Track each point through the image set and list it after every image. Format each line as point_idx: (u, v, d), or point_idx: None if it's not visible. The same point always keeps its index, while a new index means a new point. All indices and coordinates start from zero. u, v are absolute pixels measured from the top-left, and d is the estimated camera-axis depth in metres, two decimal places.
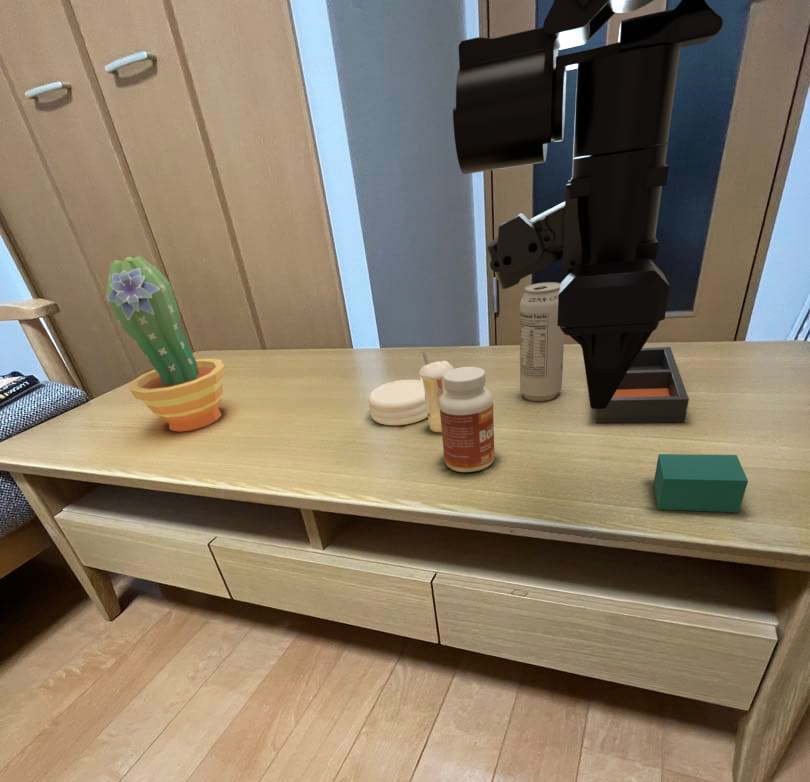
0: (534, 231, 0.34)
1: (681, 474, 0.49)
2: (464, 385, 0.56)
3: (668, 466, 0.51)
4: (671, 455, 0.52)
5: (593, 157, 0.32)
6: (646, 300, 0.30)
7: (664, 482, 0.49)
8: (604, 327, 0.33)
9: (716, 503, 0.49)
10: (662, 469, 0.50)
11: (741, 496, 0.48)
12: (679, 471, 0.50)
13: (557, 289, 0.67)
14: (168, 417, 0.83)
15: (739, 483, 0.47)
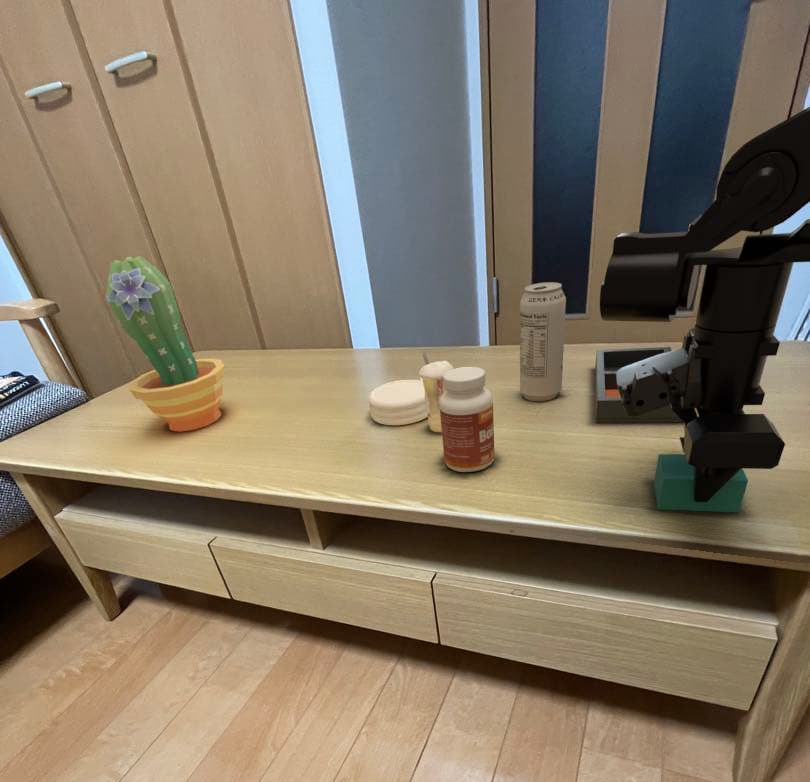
0: (666, 384, 0.42)
1: (681, 474, 0.49)
2: (464, 385, 0.56)
3: (668, 466, 0.51)
4: (671, 455, 0.52)
5: (718, 332, 0.41)
6: (766, 453, 0.39)
7: (664, 482, 0.49)
8: None
9: (716, 503, 0.49)
10: (662, 469, 0.50)
11: (741, 496, 0.48)
12: (679, 471, 0.50)
13: (557, 289, 0.67)
14: (168, 417, 0.83)
15: (739, 483, 0.47)
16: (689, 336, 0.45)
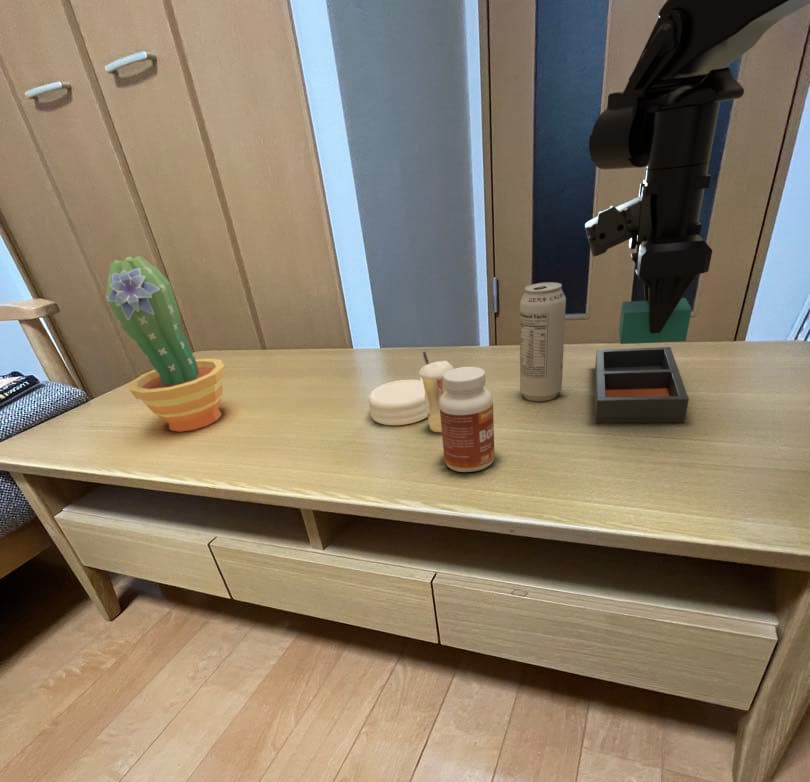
0: (622, 216, 0.53)
1: (639, 310, 0.59)
2: (464, 385, 0.56)
3: (629, 307, 0.61)
4: (632, 301, 0.62)
5: (662, 169, 0.51)
6: (698, 259, 0.49)
7: (624, 316, 0.59)
8: None
9: (667, 333, 0.59)
10: (623, 309, 0.61)
11: (687, 325, 0.58)
12: (637, 309, 0.60)
13: (557, 289, 0.67)
14: (168, 417, 0.83)
15: (685, 312, 0.58)
16: (643, 184, 0.55)
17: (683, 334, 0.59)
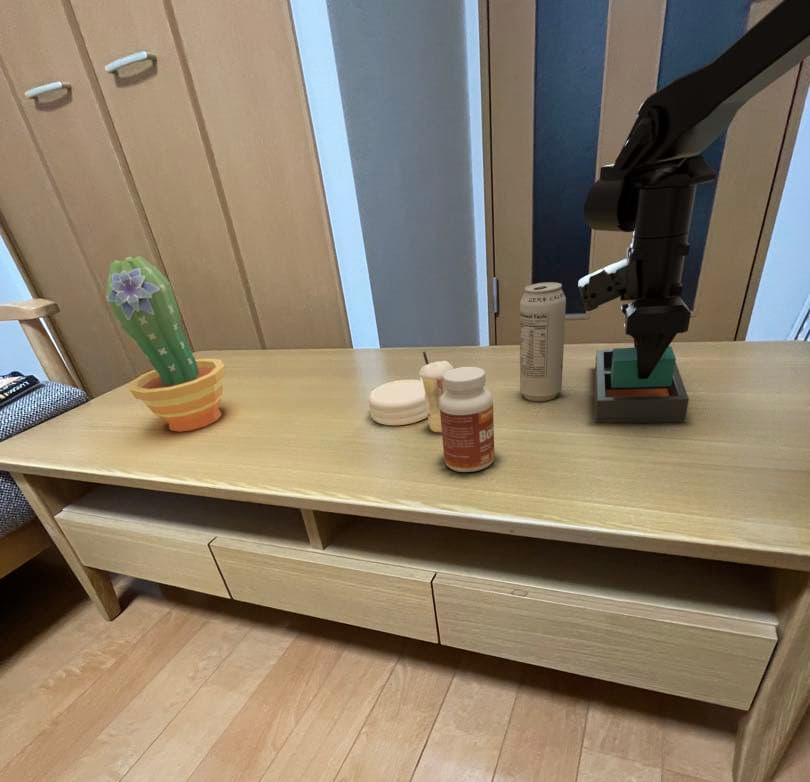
0: (611, 279, 0.58)
1: (628, 358, 0.65)
2: (464, 385, 0.56)
3: (619, 354, 0.67)
4: (622, 348, 0.68)
5: (646, 239, 0.57)
6: (678, 320, 0.55)
7: (615, 364, 0.65)
8: None
9: (654, 379, 0.65)
10: (614, 356, 0.66)
11: (672, 372, 0.64)
12: (626, 356, 0.66)
13: (557, 289, 0.67)
14: (168, 417, 0.83)
15: (669, 361, 0.63)
16: (630, 248, 0.61)
17: (668, 380, 0.65)
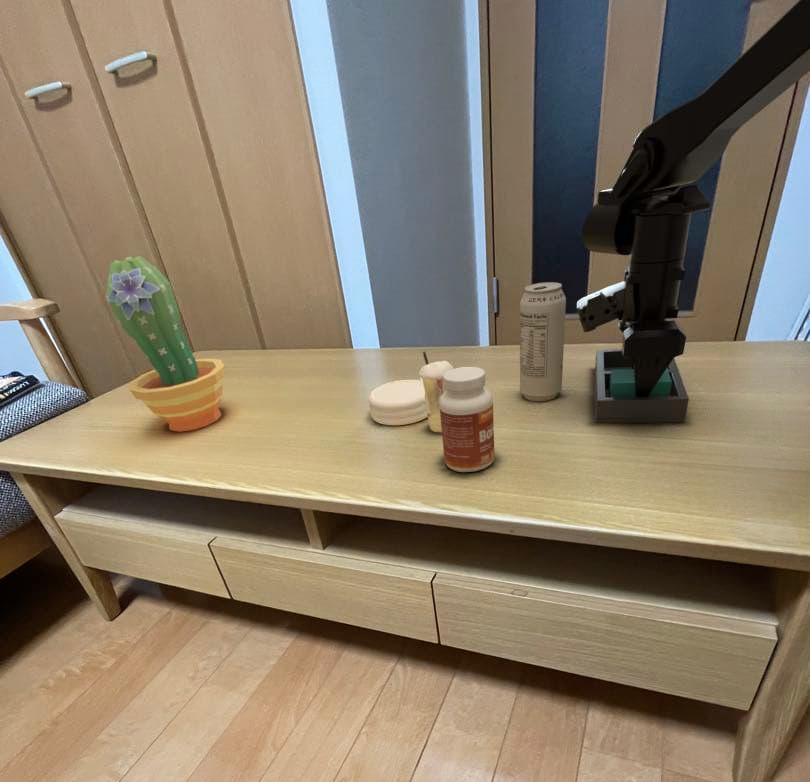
0: (608, 302, 0.60)
1: (625, 380, 0.67)
2: (464, 385, 0.56)
3: (617, 376, 0.68)
4: (620, 370, 0.70)
5: (643, 264, 0.58)
6: (673, 344, 0.56)
7: (612, 386, 0.67)
8: None
9: None
10: (612, 378, 0.68)
11: (668, 394, 0.66)
12: (624, 378, 0.67)
13: (557, 289, 0.67)
14: (168, 417, 0.83)
15: (665, 384, 0.65)
16: (627, 271, 0.62)
17: None
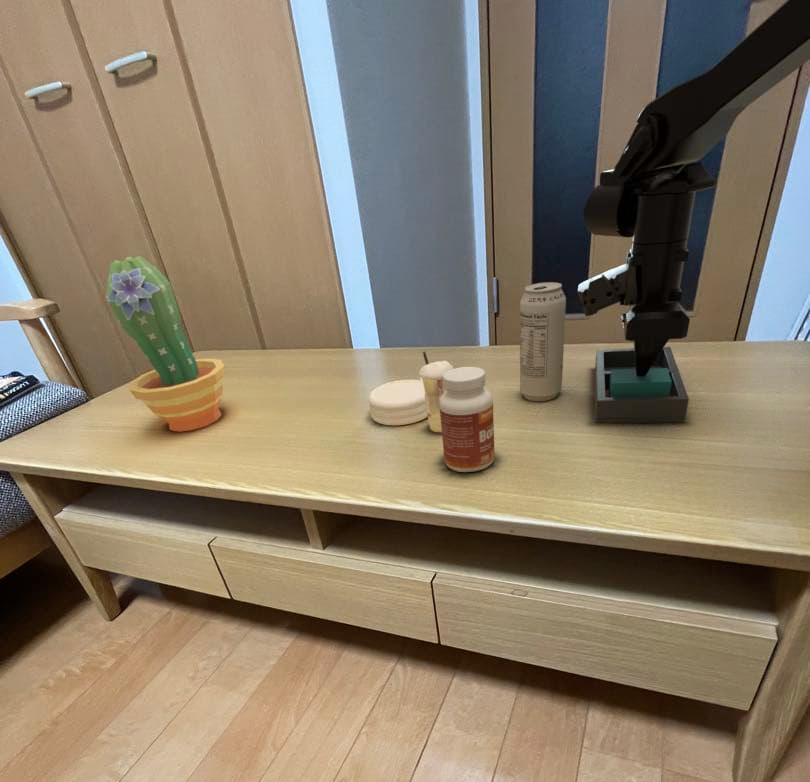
0: (610, 285, 0.59)
1: (625, 380, 0.67)
2: (464, 385, 0.56)
3: (617, 376, 0.68)
4: (620, 370, 0.70)
5: (646, 245, 0.57)
6: (677, 326, 0.55)
7: (612, 386, 0.67)
8: None
9: None
10: (612, 378, 0.68)
11: (668, 394, 0.66)
12: (624, 378, 0.67)
13: (557, 289, 0.67)
14: (168, 417, 0.83)
15: (665, 384, 0.65)
16: (629, 253, 0.61)
17: None
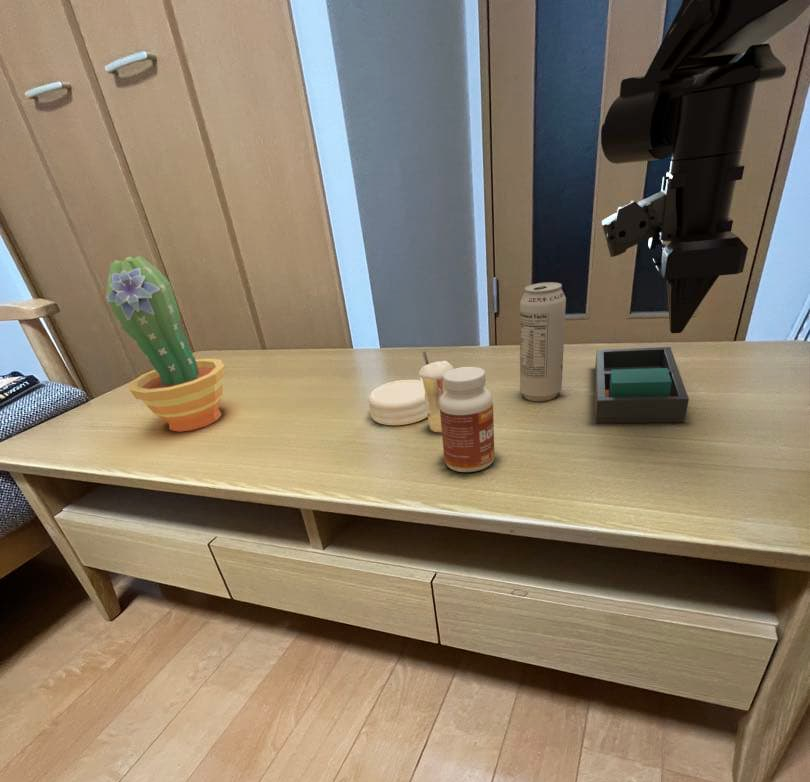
0: (645, 212, 0.47)
1: (625, 380, 0.67)
2: (464, 385, 0.56)
3: (617, 376, 0.68)
4: (620, 370, 0.70)
5: (690, 160, 0.46)
6: (731, 258, 0.44)
7: (612, 386, 0.67)
8: None
9: None
10: (612, 378, 0.68)
11: (668, 394, 0.66)
12: (624, 378, 0.67)
13: (557, 289, 0.67)
14: (168, 417, 0.83)
15: (665, 384, 0.65)
16: (666, 177, 0.50)
17: None
